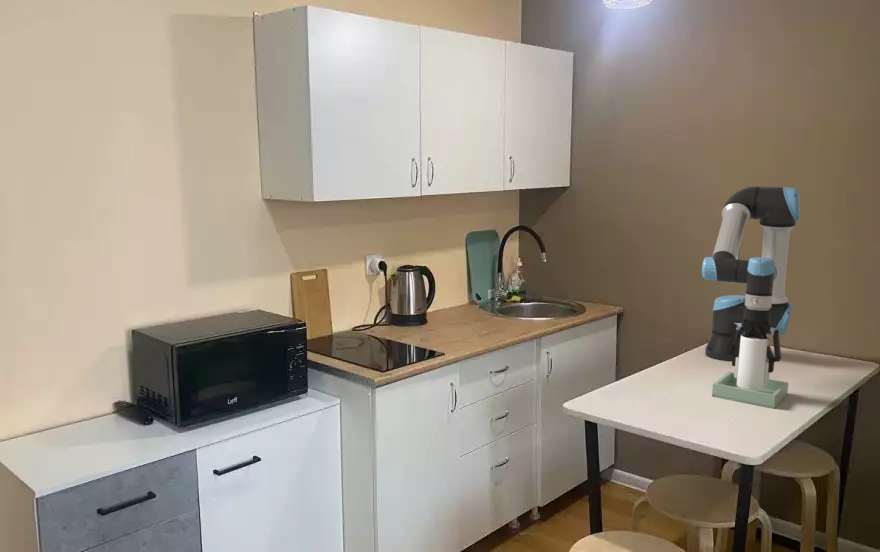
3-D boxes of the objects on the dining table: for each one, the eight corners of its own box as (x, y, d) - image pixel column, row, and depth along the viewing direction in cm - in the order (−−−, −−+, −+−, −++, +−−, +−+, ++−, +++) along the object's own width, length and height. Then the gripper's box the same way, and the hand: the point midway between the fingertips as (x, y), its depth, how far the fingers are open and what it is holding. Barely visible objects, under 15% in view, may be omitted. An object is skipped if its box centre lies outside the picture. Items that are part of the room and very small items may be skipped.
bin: (728, 383, 239) (729, 371, 238) (787, 394, 228) (788, 382, 228) (711, 396, 225) (712, 383, 224) (773, 408, 214) (775, 395, 214)
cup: (759, 383, 230) (764, 334, 227) (768, 391, 222) (773, 340, 219) (733, 381, 231) (737, 333, 228) (741, 389, 223) (745, 339, 220)
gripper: (719, 305, 226) (713, 375, 229) (792, 314, 213) (784, 388, 217) (725, 302, 232) (720, 370, 235) (797, 310, 219) (790, 383, 223)
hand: (751, 379), depth 226 cm, fingers closed on cup, 8 cm apart
